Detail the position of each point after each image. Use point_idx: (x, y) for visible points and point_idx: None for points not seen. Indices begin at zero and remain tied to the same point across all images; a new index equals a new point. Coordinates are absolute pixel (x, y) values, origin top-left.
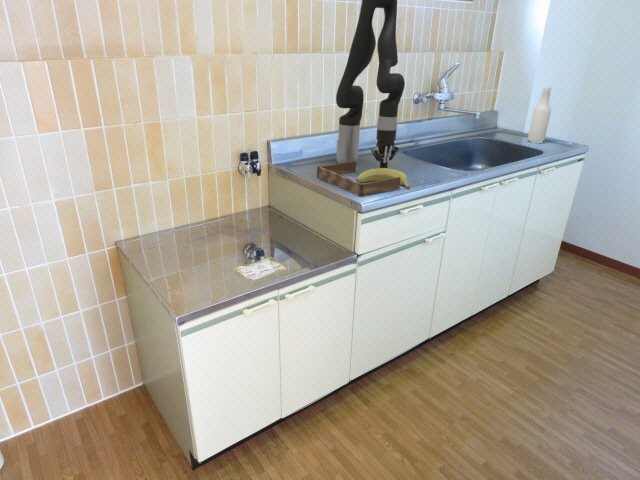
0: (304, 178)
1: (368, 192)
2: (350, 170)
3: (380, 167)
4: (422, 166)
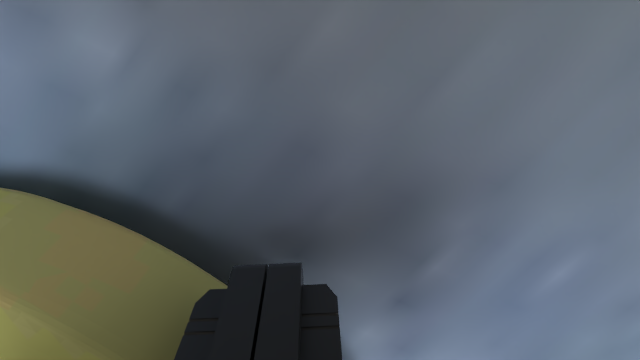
0: None
1: None
2: None
3: (192, 334)
4: None
